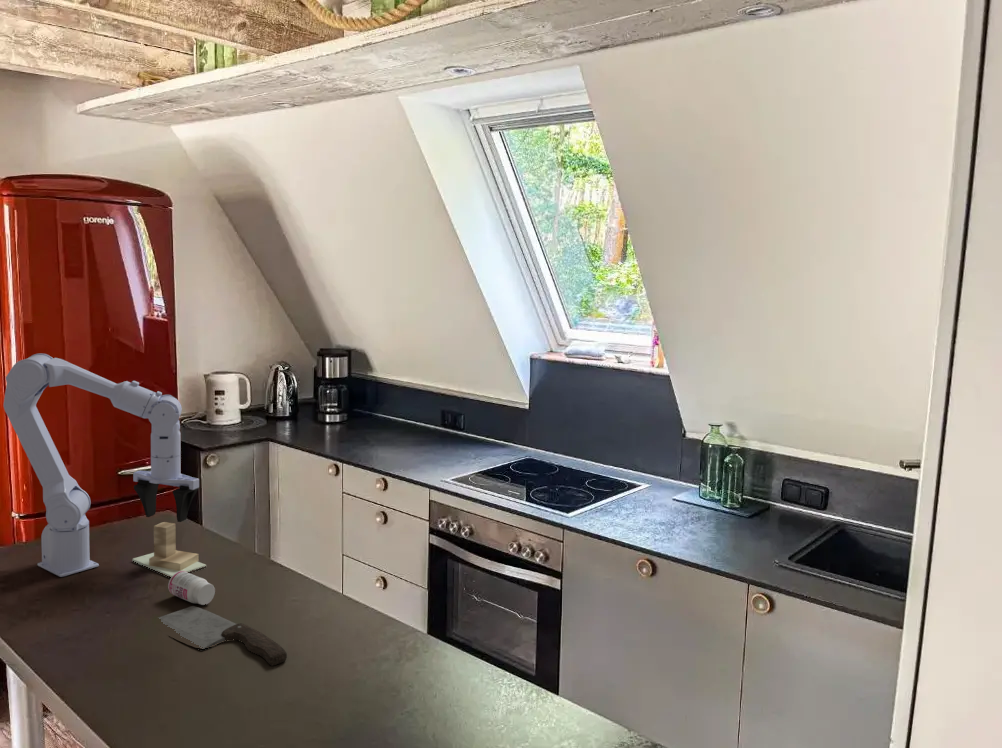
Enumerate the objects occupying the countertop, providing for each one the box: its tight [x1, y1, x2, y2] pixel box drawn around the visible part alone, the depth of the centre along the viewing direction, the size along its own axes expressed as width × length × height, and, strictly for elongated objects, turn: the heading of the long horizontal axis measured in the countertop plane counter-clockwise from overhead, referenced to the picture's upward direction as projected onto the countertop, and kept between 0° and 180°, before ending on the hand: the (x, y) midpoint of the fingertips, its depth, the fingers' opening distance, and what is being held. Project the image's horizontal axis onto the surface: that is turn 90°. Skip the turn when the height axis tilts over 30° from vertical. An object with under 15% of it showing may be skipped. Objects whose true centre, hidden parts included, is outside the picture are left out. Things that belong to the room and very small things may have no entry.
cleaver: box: [158, 605, 288, 666], centre depth 141 cm, size 29×10×2 cm, turn 55°
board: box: [132, 552, 207, 577], centre depth 172 cm, size 14×8×1 cm, turn 55°
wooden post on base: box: [149, 521, 200, 571], centre depth 171 cm, size 8×6×8 cm
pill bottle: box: [167, 571, 216, 606], centre depth 155 cm, size 5×5×8 cm
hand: (166, 518), depth 171 cm, fingers open, 7 cm apart
